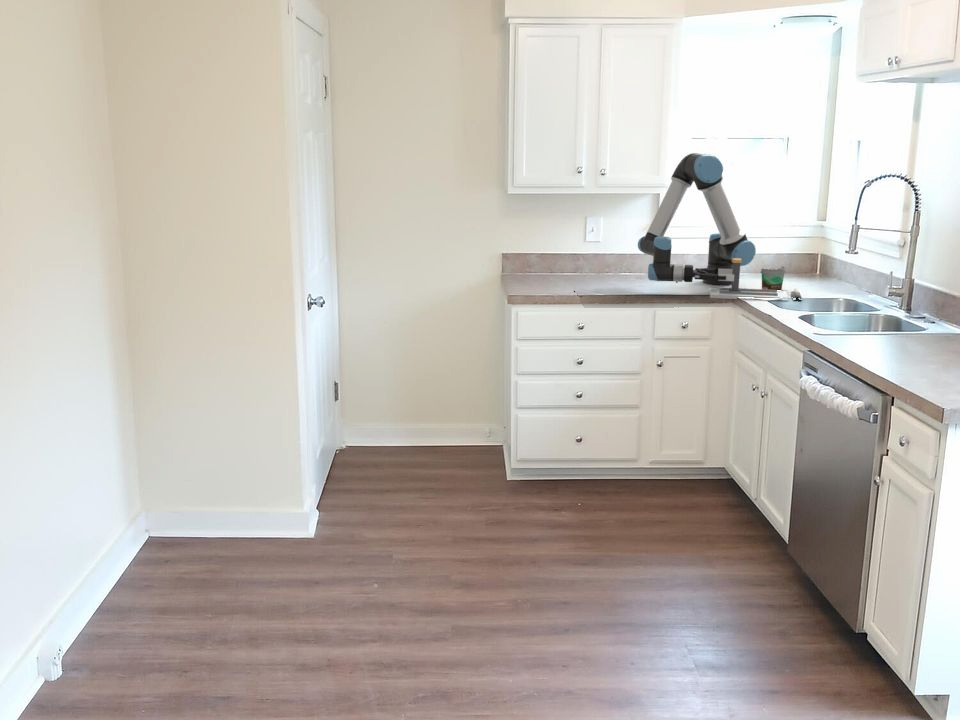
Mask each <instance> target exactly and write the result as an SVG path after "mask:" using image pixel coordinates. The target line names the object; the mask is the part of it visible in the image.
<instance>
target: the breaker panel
mask: <svg viewBox="0 0 960 720" xmlns="http://www.w3.org/2000/svg"><path fill="white" fill-rule="evenodd" d="M729 288H730V287H719V288H715V287H713V288H712V287H711V288H710V289H709V298H710V299H727V300H728V299H729V300H738V299H737V298H738V297H754V298H780V297H783V298H788V297H789V296H788V293H787V291H786V290H781V291H777V290H765V289H762V288H761V289H760V288H759V289H758V288H757V289H756V288H741V292H735V291H729ZM788 299H789V298H788Z"/></svg>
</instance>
